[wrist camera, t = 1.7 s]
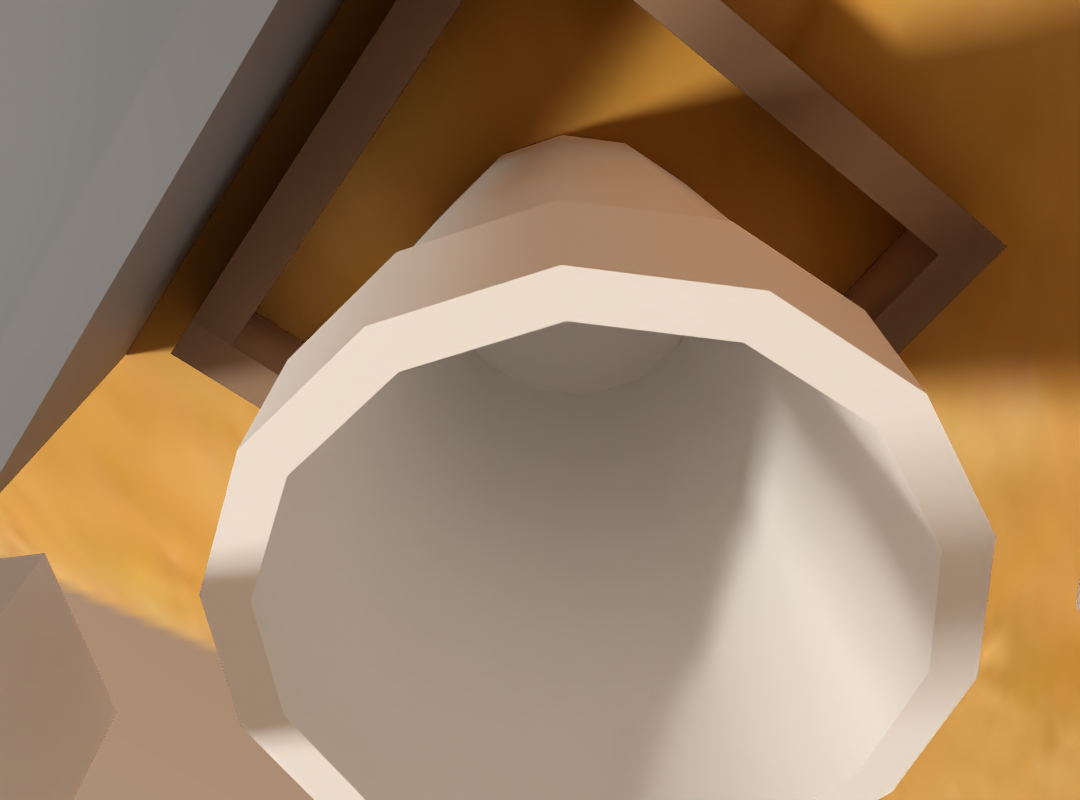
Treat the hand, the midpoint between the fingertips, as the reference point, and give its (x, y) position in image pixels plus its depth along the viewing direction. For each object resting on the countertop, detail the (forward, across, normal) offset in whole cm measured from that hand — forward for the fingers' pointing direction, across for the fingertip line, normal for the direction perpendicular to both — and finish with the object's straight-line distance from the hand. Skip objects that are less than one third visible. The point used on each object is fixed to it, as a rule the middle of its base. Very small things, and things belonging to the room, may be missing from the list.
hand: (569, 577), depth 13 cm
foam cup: (+12, 0, 0) cm, 12 cm away
